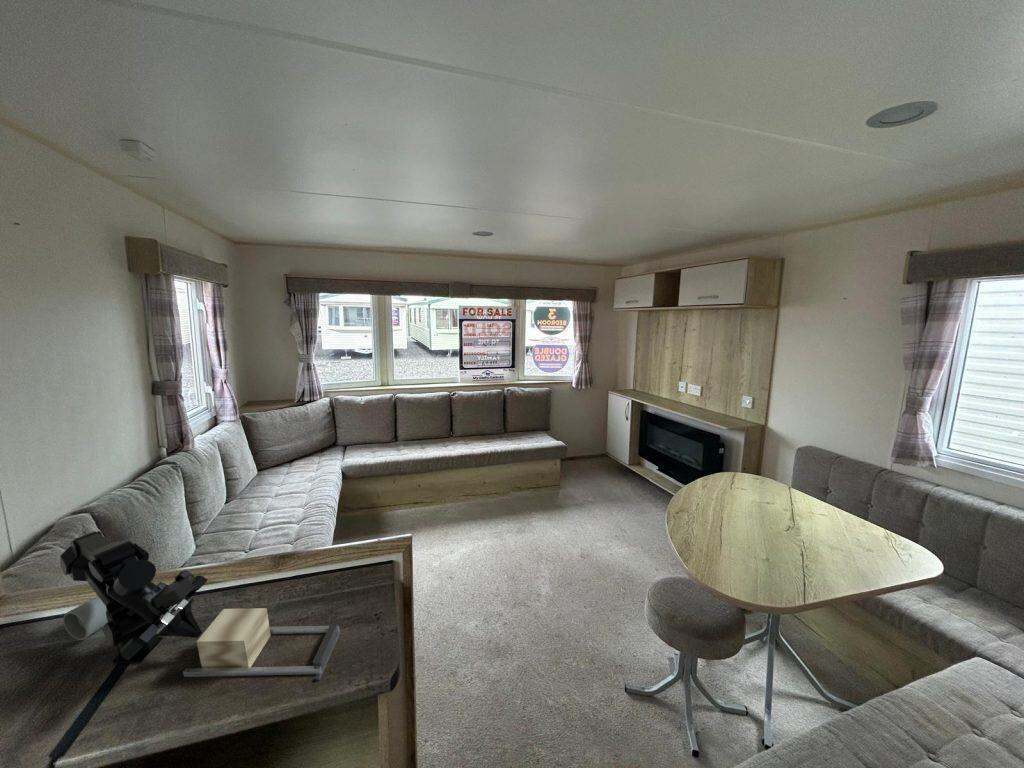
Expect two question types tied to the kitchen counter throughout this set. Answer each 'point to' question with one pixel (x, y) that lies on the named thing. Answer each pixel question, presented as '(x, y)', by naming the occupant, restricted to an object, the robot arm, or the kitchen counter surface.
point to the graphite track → (317, 669)
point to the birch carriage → (234, 638)
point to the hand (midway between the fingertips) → (199, 635)
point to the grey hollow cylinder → (86, 619)
